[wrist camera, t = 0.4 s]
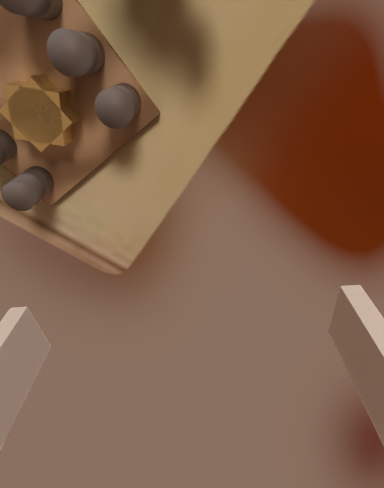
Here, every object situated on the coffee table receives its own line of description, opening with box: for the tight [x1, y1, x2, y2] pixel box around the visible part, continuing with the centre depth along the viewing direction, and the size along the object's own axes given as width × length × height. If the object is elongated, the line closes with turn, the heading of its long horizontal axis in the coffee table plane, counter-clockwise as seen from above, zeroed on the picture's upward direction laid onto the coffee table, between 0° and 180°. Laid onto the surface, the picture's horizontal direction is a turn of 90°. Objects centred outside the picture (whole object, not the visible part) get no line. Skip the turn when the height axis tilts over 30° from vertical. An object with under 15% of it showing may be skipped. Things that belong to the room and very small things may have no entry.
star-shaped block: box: [0, 74, 83, 152], centre depth 28 cm, size 7×7×3 cm
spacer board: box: [0, 0, 160, 211], centre depth 26 cm, size 22×18×6 cm
